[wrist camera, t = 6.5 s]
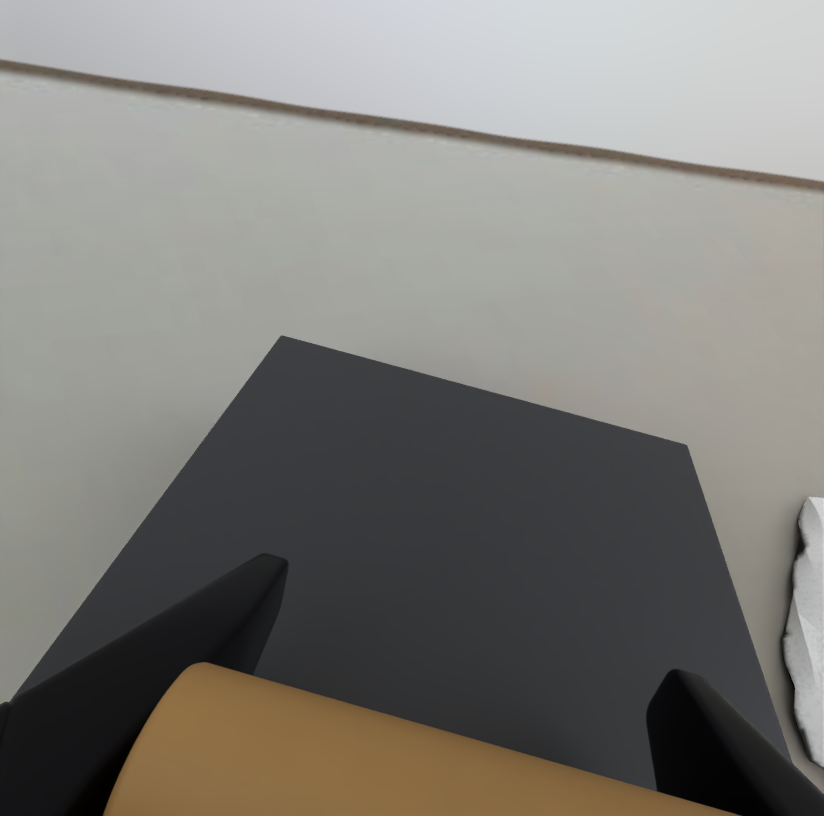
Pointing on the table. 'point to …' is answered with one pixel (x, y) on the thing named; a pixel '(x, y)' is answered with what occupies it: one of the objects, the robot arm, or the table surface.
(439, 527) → the lid
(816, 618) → the cloth
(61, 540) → the table surface
